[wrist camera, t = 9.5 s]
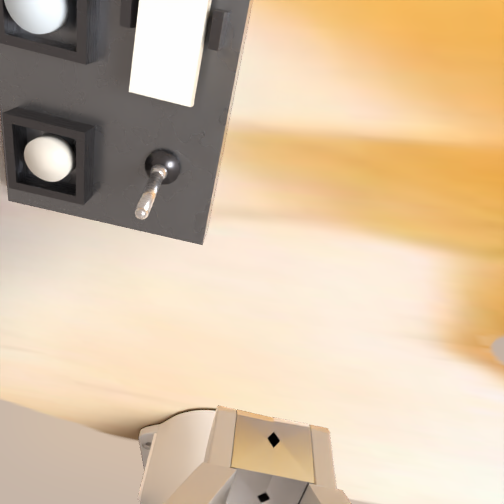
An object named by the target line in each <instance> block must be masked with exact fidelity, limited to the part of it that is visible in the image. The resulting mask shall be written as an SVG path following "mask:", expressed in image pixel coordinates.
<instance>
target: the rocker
mask: <svg viewBox="0 0 504 504" xmlns="http://www.w3.org/2000/svg"><path fill="white" fill-rule="evenodd" d="M211 1H212V0H139V7H138V15H137V24H136V33H135V42H134V50H133V59H132V68H131V76H130V85H129V92H132V93H136V94H140V95H144V96H148V97H152V98H156V99H160V100H164V101H168V102H172V103H176V104H180V105H184V106H188V107H192V106H193V105H194V99H195V94H196V88H197V82H198V76H199V70H200V65H201V59H202V53H203V47H204V41H205V36H206V30H207V24H208V18H209V12H210V7H211Z"/></svg>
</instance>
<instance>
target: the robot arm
mask: <svg viewBox="0 0 504 504" xmlns="http://www.w3.org/2000/svg"><path fill="white" fill-rule="evenodd" d="M139 444H140V449H141V455H142V460H143V466H144V475H143V478H142V482H141V486H140V490H139V494H138V500H139V501H140V504H352V503H351V502H350V500H349V499H348V497H347V496H346V494H345V493H344V492H343V490H340V489H337V486H336V478H335V469H334V461H333V453H332V445H331V437H330V431H329V430H328V428H324V427H319V426H314V425H308V424H306V423H301V422H296V421H290V420H285V419H280V418H275V417H272V418H271V417H267V416H263V415H259V414H254V413H250V412H246V411H242V410H236V409H232V408H228V407H223V406H219V405H218V406H217V409H216V411H213V410H196V411H189V412H185V413H181V414H178V415H176V416H174V417H172V418H170V419H169V420H167V421H165V422H164V423H162V424H159V425H153V426H148V427H145V428H142V429H141V430H140V434H139Z"/></svg>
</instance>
